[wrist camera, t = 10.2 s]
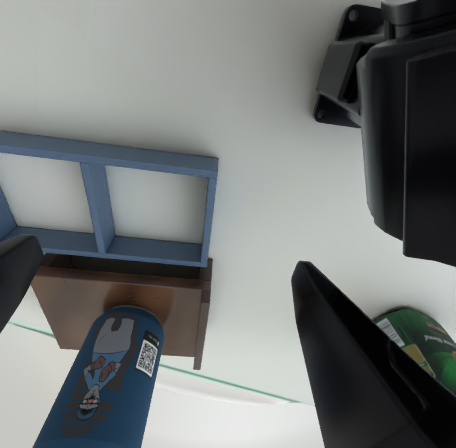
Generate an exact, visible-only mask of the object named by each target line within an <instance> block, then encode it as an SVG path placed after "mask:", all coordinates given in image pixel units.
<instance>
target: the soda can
mask: <svg viewBox="0 0 456 448" xmlns="http://www.w3.org/2000/svg"><path fill="white" fill-rule="evenodd" d="M163 343H164V332H163V329H162V326H161V323H160V321H159V319H158V318H157V316H156V315H155V314H153V313H152V312H151V311H149V310H147V309H145V308H142V307H138V306H133V305H121V306H116V307H113V308H111V309H110V310H108V311H107V312H105V313H104V314H102V315H101V316H99V317H98V318H97V319H96V320H95V321H94V322H93V324H92V326H91V328H90V330H89V332H88V334H87V336H86V338H85V340H84V342H83V344H82V346H81V349H80V351H79V353H78V355H77V357H76V359H75V361H74V363H73V365H72V367H71V369H70V371H69V373H68V375H67V378H66V380H65V382H64V384H63V386H62V388H61V390H60V392H59V394H58V396H57V398H56V400H55V403H54V404H53V406H52V409H51V411H50V413H49V415H48V417H47V419H46V421H45V423H44V425H43V427H42V429H41V431H40V433H39V435H38V438H37V440H36V442H35V444H34V446H33V448H141V445H142V440H143V435H144V431H145V426H146V421H147V417H148V412H149V407H150V403H151V398H152V393H153V389H154V384H155V380H156V375H157V371H158V366H159V361H160V357H161V352H162V347H163Z"/></svg>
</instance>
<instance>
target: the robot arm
mask: <svg viewBox="0 0 456 448" xmlns="http://www.w3.org/2000/svg"><path fill="white" fill-rule="evenodd" d="M351 11H354V12H355V18H354V20H352V21H351V20H350V19H349V15H350V13H351ZM317 91H318V93H319V95H318V98H317V101H316V105H315V108H314V111H313V118H314V120H315V121H317V122H320V123H327V124H334V125H341V126H348V127H355V128H361V131H362V144H363V157H364V169H365V182H366V195H367V204H368V207H369V210H370V212H371V215H372V216H373V217H374V223H375V224H376V225H377V226H378V227H379V228H380V229H382V230H383V231H384V232H385V233H387V234H389V235H391V236H393V237H395V238H397V239H399V240H402V241H403V254H404V255H405V256H406V257H412V258H419V259H426V260H433V261H437V262H441V263H444V264H447V265H451V266H454V267H456V0H384V1H382V2H381V9H380V8H375V7H369V6H364V5H358V4H355V5H351V6H349V7H348V8H347V9H346V10H345V11H344V13H343V16H342V19H341V23H340V26H339V29H338V32H337V36H336V39H335V41H334V42H333V43H332V44H330V45H329V48H328V51H327V54H326V58H325V61H324V65H323V68H322V71H321V75H320V78H319V81H318V85H317ZM321 111H323V115H322V117H319V118H318V113H319V112H321ZM43 257H44V254H43V251H42V248H41V245H40V243H39V240H38V238H37V237H36V236H35V235H29V234H20V235H17V236H15V237H12V238H10V239H7V240H5V241H2V242H0V333H1V332H2V330H3V329H4V327H5V326H6V324H7V322H8V321H9V319H10V318H11V316H12V315H13V313H14V312H15V310H16V309H17V307H18V306H19V304H20V303H21V301H22V299H23V297H24V296H25V294H26V292H27V290H28V288H29V286H30V284H31V282H32V280H33V278H34V276H35V274H36V273H37V271H38V269H39V267H40V265H41V263H42V261H43ZM291 283H292V292H293V301H294V310H295V318H296V324H297V329H298V333H299V338H300V342H301V346H302V351H303V355H304V359H305V364H306V368H307V372H308V377H309V381H310V385H311V390H312V394H313V398H314V403H315V407H316V411H317V415H318V420H319V424H320V429H321V433H322V437H323V441H324V446H325V448H456V395H454V394H453V393H452V392H451V391H450V390H448V389H447V388H446V387H445V386H444V385H442V384H441V383H440V382H439V381H438V380H437V379H435V378H434V377H433V376H432V375H431V374H430V373H429V372H427V371H426V370H425V369H424V368H423V367H422V366H420V365H419V364H418V363H417V362H416V361H415V360H414V359H413V358H412V357H411V356H410V355H408V354H407V353H406V352H405V351H404V350H403V349H402V348H401V347H400V346H399V345H398V344H397V343H396V342H395V341H393V340H392V339H390V337H389V336H388V335H387V334H386V333H385V332H384V331H383V330H382V329H381V328H380V327H379V326H378V325H377V324H375V323H374V322H373V321H372V320H371V319H370V318H369V317H368V316H367V315H366V314H365V313H364V312H363V311H362V310H361V309H360V308H359V307H358V306H356V305H355V304H354V303H353V302H352V301H351V300H350V299H349V298H348V297H347V296H346V295H345V294H344V293H343V292H342V291H341V290H340V289H339V288H337V287H336V286H335V285H334V284H333V283H332V282H331V281H330V280H329V279H328V278H327V277H326V276H325V275H324V274H323V273H322V272H321V271H320V270H319V269H317V268H316V267H315V266H314V265H313V264H312V263H311V262H309V261H299V262H298V263H297V265H296V267H295V270H294V272H293V275H292V279H291Z"/></svg>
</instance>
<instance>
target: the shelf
mask: <svg viewBox="0 0 456 448" xmlns="http://www.w3.org/2000/svg"><path fill="white" fill-rule="evenodd" d="M212 263H213V259H207V267H200V274H199V280H193V279H182V278H170V277H159V276H147V275H136V274H124V273H113V272H101V271H90V270H78V269H73V268H72V265H71V262H70V258H69V255H66V254H55V253H45V254H44V257H43V261H42V263H41V265H40V267H39V269H38V271H37V273H36V274H35V276H34V278H33V280H32V282H31V286H32V288H33V290H34V292H35V294H36V297H37V299H38V301H39V303H40V305H41V308H42V310H43V312H44V314H45V316H46V318H47V321H48V323H49V325H50V327H51V329H52V332H53V334H54V336H55V338H56V340H57V342H58V345H59V347H60V348H61V349H73V350H80V349H81V346H82V344H83V342H84V340H85V338H86V336H87V334H88V332H89V330H90V328H91V326H92V324H93V322H94V321H95V320H96V319H97V318H98V317H99V316H101V315H102V314H104V313H105V312H107V311H108V310H110V309H111V308H113V307H116V306H121V305H133V306H138V307H142V308H145V309H147V310H149V311H151V312H152V313H153V314H155V315H156V316H157V318H158V319H159V321H160V323H161V326H162V329H163V332H164V343H163V347H162V352H161V355H169V356H185V357H195V358H194V367H193V369H194V370H200V368H201V362H202V355H203V348H204V341H205V334H206V327H207V320H208V313H209V306H210V294H211V279H212Z"/></svg>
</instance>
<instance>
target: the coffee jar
mask: <svg viewBox="0 0 456 448" xmlns="http://www.w3.org/2000/svg"><path fill="white" fill-rule="evenodd" d="M374 323H375V324H377V325H378V326H379V327H380V328H381V329H382V330H383V331H384V332H385V333H386V334H387V335H388V336H389V337H390V339H392V340H393V341H395V342H396V343H397V344H398V345H399V346H400V347H401V348H402V349H403V350H404V351H405V352H406V353H407V354H408V355H410V356H411V357H412V358H413V359H414V360H415V361H416V362H417V363H418V364H419V365H420V366H422V367H423V368H424V369H425V370H426V371H427V372H429V373H430V374H431V375H432V376H433V377H434V378H435V379H437V380H438V381H439V382H440V383H441V384H442V385H444V386H445V387H446V388H447V389H448V390H450V391H451V392H452V393H453V394H454V395H456V344H455V342H454V341H453V340H452V338H451V337H450V336H449V335H448V333H447V332H446V331H445V330H444V328H443V327H442V326H441V325H440V324H439V323H438V322H436V321H435V320H434V319H432V318H430V317H428V316H427V315H424V314H422V313H420V312H417V311H414V310H411V309H402V310H399V311H396V312H392V313H389V314H385V315H383V316H382V317H380V318H378V319H377V320H375V321H374Z"/></svg>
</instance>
